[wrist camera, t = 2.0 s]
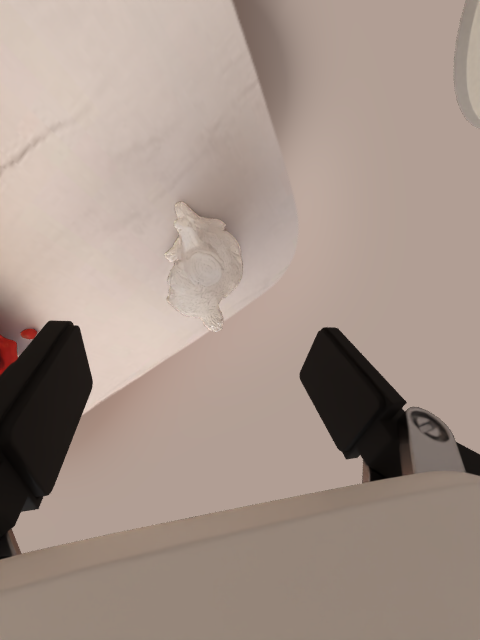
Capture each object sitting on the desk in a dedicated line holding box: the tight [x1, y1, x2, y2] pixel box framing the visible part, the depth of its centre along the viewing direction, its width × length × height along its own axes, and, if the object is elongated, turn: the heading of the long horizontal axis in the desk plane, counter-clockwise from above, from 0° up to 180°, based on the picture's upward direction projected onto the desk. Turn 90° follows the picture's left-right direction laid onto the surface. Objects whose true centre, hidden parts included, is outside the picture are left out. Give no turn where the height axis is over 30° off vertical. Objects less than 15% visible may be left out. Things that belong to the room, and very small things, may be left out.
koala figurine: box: [164, 202, 243, 332], centre depth 17 cm, size 8×7×12 cm
